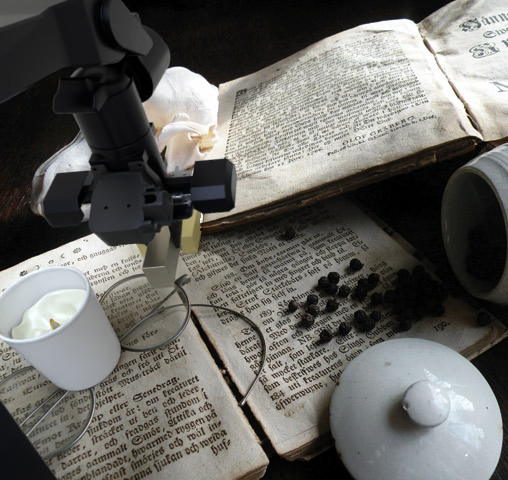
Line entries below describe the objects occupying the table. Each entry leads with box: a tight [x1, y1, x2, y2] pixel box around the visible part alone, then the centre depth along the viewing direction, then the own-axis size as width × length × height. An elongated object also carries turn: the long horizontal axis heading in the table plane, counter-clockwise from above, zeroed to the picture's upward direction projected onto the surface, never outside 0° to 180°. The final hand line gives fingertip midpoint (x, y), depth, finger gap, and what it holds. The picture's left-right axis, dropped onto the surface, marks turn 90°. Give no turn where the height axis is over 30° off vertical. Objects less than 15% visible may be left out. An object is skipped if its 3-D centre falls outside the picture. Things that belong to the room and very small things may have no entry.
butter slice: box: [181, 209, 202, 255], centre depth 71 cm, size 2×9×4 cm, turn 3°
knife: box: [141, 165, 182, 290], centre depth 57 cm, size 18×2×4 cm, turn 5°
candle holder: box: [0, 265, 122, 392], centre depth 53 cm, size 10×10×12 cm
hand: (166, 247), depth 55 cm, fingers closed on knife, 2 cm apart
